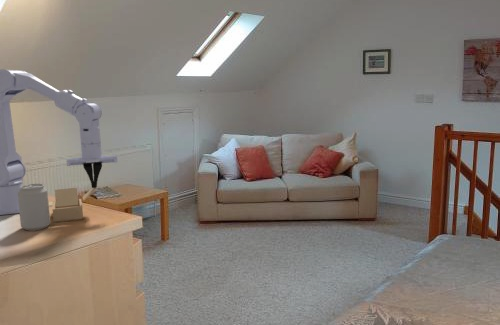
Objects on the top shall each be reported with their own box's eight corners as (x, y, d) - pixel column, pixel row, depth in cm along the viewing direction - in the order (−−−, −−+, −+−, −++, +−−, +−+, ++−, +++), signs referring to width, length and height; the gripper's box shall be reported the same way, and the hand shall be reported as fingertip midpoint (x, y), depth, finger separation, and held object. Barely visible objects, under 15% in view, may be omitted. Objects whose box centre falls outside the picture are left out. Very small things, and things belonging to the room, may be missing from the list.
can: (39, 232, 127) (35, 188, 125) (15, 230, 129) (10, 187, 127) (56, 224, 135) (52, 182, 133) (32, 222, 136) (28, 182, 134)
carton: (40, 211, 148) (39, 198, 147) (81, 207, 152) (80, 194, 152) (38, 224, 134) (36, 210, 133) (83, 219, 138) (82, 205, 138)
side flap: (95, 188, 143) (96, 189, 143) (94, 185, 147) (95, 186, 147) (83, 200, 142) (83, 201, 142) (82, 196, 146) (83, 197, 147)
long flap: (54, 190, 136) (54, 189, 136) (76, 188, 138) (76, 187, 138) (56, 206, 135) (56, 206, 135) (78, 204, 137) (78, 204, 137)
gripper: (65, 146, 136) (69, 192, 139) (117, 143, 141) (120, 187, 144) (65, 143, 143) (68, 187, 145) (114, 140, 148) (117, 183, 150)
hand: (94, 187), depth 145 cm, fingers closed
